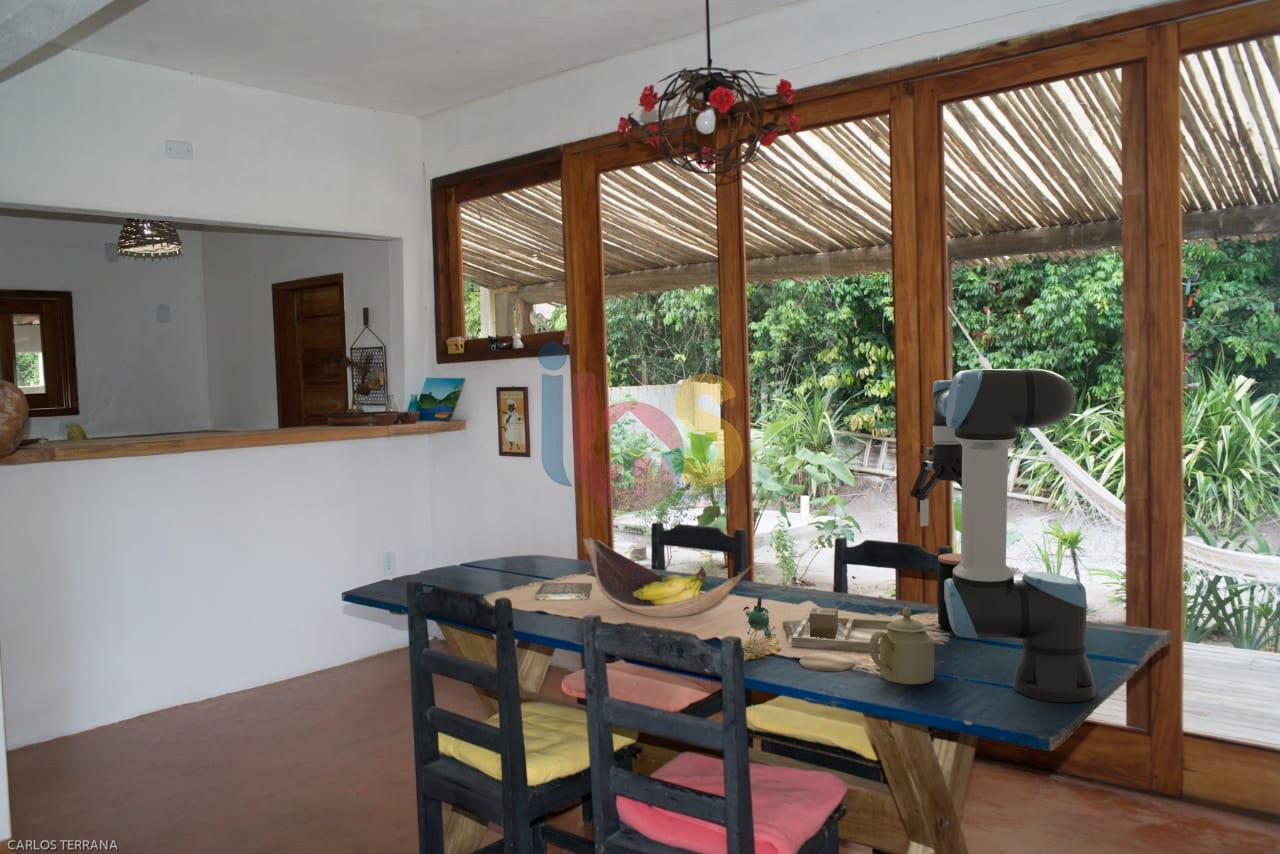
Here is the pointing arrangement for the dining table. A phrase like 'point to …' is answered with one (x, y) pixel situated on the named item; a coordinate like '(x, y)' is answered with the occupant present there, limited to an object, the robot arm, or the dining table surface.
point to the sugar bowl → (904, 651)
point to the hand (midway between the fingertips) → (948, 528)
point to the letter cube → (823, 623)
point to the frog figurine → (760, 622)
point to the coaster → (827, 662)
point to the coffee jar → (944, 572)
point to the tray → (844, 635)
